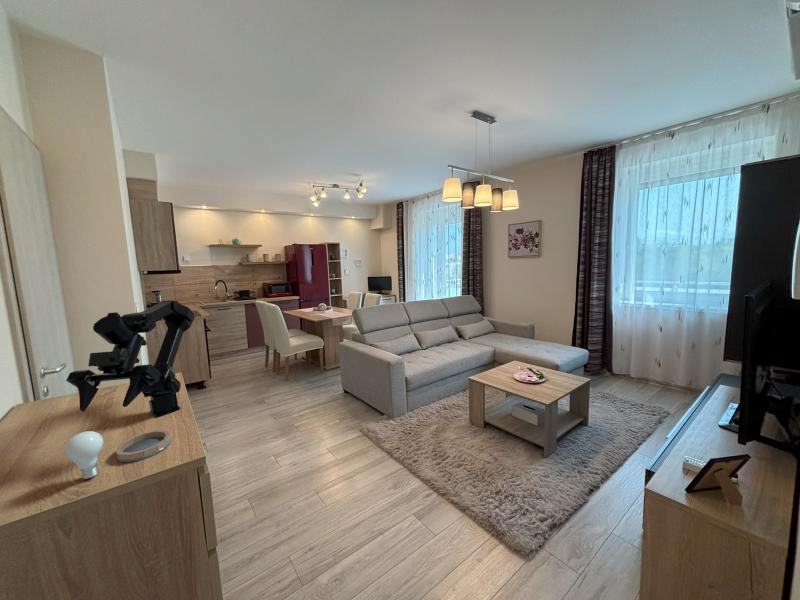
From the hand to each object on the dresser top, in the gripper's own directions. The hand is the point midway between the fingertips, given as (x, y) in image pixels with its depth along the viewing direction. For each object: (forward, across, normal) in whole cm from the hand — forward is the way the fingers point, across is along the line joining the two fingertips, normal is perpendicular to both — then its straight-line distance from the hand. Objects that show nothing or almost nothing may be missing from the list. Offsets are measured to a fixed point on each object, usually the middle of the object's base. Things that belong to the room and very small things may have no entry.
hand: (103, 408), depth 79 cm
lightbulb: (+15, 0, +4) cm, 15 cm away
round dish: (+8, +6, +11) cm, 15 cm away
